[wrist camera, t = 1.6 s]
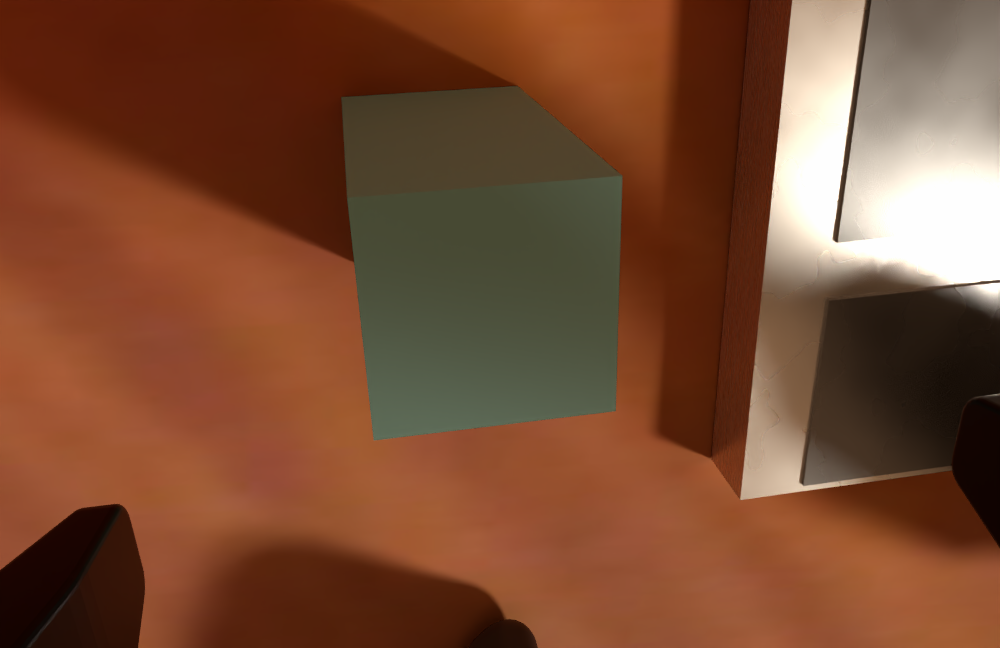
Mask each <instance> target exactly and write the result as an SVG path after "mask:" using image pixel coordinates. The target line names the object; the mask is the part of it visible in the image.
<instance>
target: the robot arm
mask: <svg viewBox="0 0 1000 648" xmlns="http://www.w3.org/2000/svg"><path fill="white" fill-rule="evenodd" d="M952 471H953V475H954V478H955V480H956V482H957V484H958V485H959V487H960V488H961V490H962V491H963V493H964V494H965V496H966V498H967V499H968V501H969V502H970V504H971V505H972V507H973V508H974V510H975V511H976V513H977V514H978V516H979V517H980V519H981V520H982V522H983V523H984V525H985V526H986V528H987V529H988V531H989V532H990V534H991V535H992V537H993V538H994V540H995V541H996V543H997V544H998V546H999V548H1000V394H996V395H988V396H980V397H975V398H972V399H971V400H969V401H968V402H967V403H966V405H965V406H964V408H963V411H962V415H961V420H960V424H959V429H958V433H957V437H956V442H955V446H954V451H953V455H952ZM144 595H145V579H144V571H143V567H142V563H141V559H140V555H139V551H138V548H137V544H136V540H135V536H134V532H133V528H132V524H131V521H130V517H129V514H128V512H127V510H126V509H125V508H124V507H123V506H122V505H120V504H111V505H103V506H95V507H87V508H81V509H78V510H76V511H75V512H73V513H72V514H71V515H69V516H68V517H67V518H66V519H64V520H63V521H62V522H61V523H59V524H58V525H57V526H56V527H54V528H53V529H52V530H50V531H49V532H48V533H47V534H45V535H44V536H43V537H42V538H40V539H39V540H38V541H37V542H35V543H34V544H33V545H31V546H30V547H29V548H28V549H26V550H25V551H24V552H23V553H21V554H20V555H19V556H18V557H16V558H15V559H14V560H12V561H11V562H10V563H9V564H7V565H6V566H5V567H4V568H2V569H1V570H0V648H138V643H139V635H140V627H141V619H142V611H143V604H144Z"/></svg>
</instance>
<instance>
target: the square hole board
mask: <svg viewBox="0 0 1000 648" xmlns="http://www.w3.org/2000/svg"><path fill="white" fill-rule="evenodd" d="M996 394H1000V0H750V8H749V20H748V32H747V44H746V56H745V67H744V79H743V91H742V103H741V115H740V127H739V138H738V150H737V162H736V174H735V186H734V197H733V209H732V221H731V233H730V245H729V256H728V268H727V280H726V292H725V304H724V315H723V327H722V339H721V351H720V363H719V374H718V386H717V398H716V410H715V422H714V433H713V445H712V457H711V460H712V461H713V462H714V464H715V465H716V467H717V468H718V469H719V471H720V472H721V474H722V475H723V476H724V478H725V479H726V481H727V482H728V483H729V485H730V486H731V488H732V489H733V490H734V492H735V493H736V495H737V496H738V497H739V499H740V500H744V499H751V498H758V497H765V496H772V495H779V494H787V493H794V492H801V491H808V490H815V489H822V488H830V487H837V486H844V485H851V484H858V483H865V482H873V481H880V480H887V479H894V478H901V477H908V476H916V475H923V474H930V473H937V472H944V471H951V470H952V455H953V451H954V446H955V442H956V437H957V433H958V429H959V424H960V420H961V415H962V411H963V408H964V406H965V405H966V403H967V402H968V401H969V400H971V399H972V398H975V397H980V396H988V395H996Z"/></svg>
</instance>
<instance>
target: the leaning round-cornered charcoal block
mask: <svg viewBox="0 0 1000 648" xmlns="http://www.w3.org/2000/svg"><path fill="white" fill-rule="evenodd" d="M469 648H538V647H537V643H536V640H535V637H534V635H533V634H532V632H531V631H530V629H529V628H528V627H527V626H526V625H524V624H523V623H521V622H519V621H516V620H511V619H507V620H502V621H499V622H497V623H495V624H493V625H491V626H490V627H488V628H487V629H485V630H484V631H483V632H482V633H481V634H479V635H478V636H477V638H476V639H475V640H474V641H473V642H472V643H471V645H470V646H469Z"/></svg>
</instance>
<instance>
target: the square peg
mask: <svg viewBox="0 0 1000 648" xmlns="http://www.w3.org/2000/svg"><path fill="white" fill-rule="evenodd" d="M341 99H342V117H343V135H344V152H345V170H346V187H347V202H348V211H349V220H350V229H351V238H352V247H353V256H354V265H355V274H356V283H357V292H358V301H359V310H360V319H361V328H362V337H363V347H364V356H365V365H366V374H367V383H368V392H369V401H370V410H371V419H372V428H373V437H374V440H381V439H389V438H397V437H406V436H414V435H422V434H430V433H439V432H447V431H455V430H463V429H472V428H480V427H488V426H496V425H505V424H513V423H521V422H529V421H538V420H546V419H554V418H563V417H571V416H579V415H587V414H596V413H604V412H612V411H616V381H617V346H618V311H619V276H620V242H621V207H622V175H621V174H620V173H619V172H617V171H616V170H615V169H614V168H613V167H612V166H610V165H609V164H608V163H607V162H606V161H605V160H603V159H602V158H601V157H600V156H599V155H598V154H596V153H595V152H594V151H593V150H592V149H591V148H589V147H588V146H587V145H586V144H585V143H584V142H582V141H581V140H580V139H579V138H578V137H577V136H575V135H574V134H573V133H572V132H571V131H570V130H568V129H567V128H566V127H565V126H564V125H563V124H561V123H560V122H559V121H558V120H557V119H556V118H554V117H553V116H552V115H551V114H550V113H548V112H547V111H546V110H545V109H544V108H543V107H541V106H540V105H539V104H538V103H537V102H536V101H534V100H533V99H532V98H531V97H530V96H529V95H527V94H526V93H525V92H524V91H523V90H522V89H520V88H519V87H518V86H508V87H492V88H476V89H461V90H445V91H429V92H413V93H398V94H382V95H366V96H350V97H341Z"/></svg>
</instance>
